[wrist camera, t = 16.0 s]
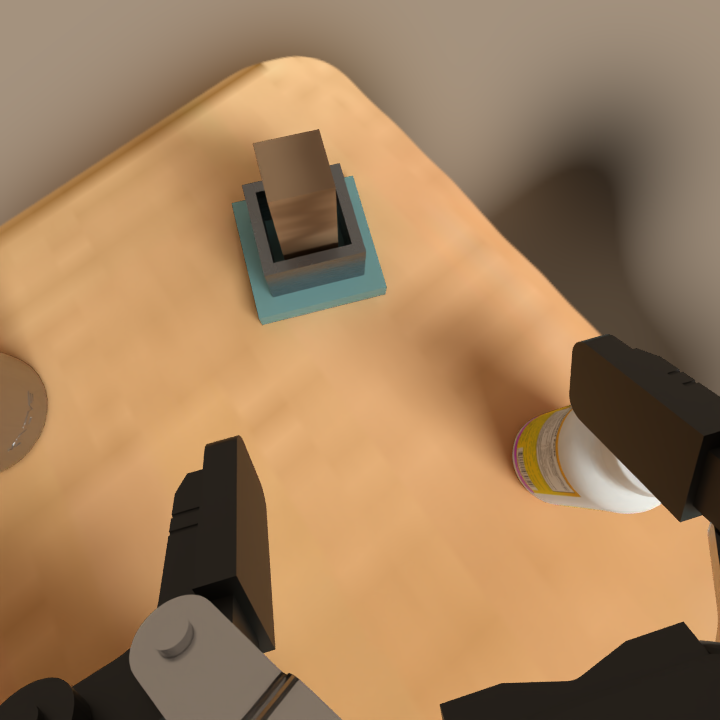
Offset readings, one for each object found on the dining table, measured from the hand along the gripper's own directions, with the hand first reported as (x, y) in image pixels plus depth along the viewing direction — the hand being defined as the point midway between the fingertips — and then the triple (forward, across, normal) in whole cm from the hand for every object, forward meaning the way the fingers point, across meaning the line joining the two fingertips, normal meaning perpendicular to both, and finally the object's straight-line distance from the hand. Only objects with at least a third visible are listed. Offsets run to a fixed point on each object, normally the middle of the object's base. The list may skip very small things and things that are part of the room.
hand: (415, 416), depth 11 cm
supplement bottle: (+15, -13, +20) cm, 29 cm away
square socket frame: (+29, 0, +5) cm, 29 cm away
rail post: (+29, 0, +5) cm, 29 cm away
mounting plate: (+30, 0, +6) cm, 30 cm away
